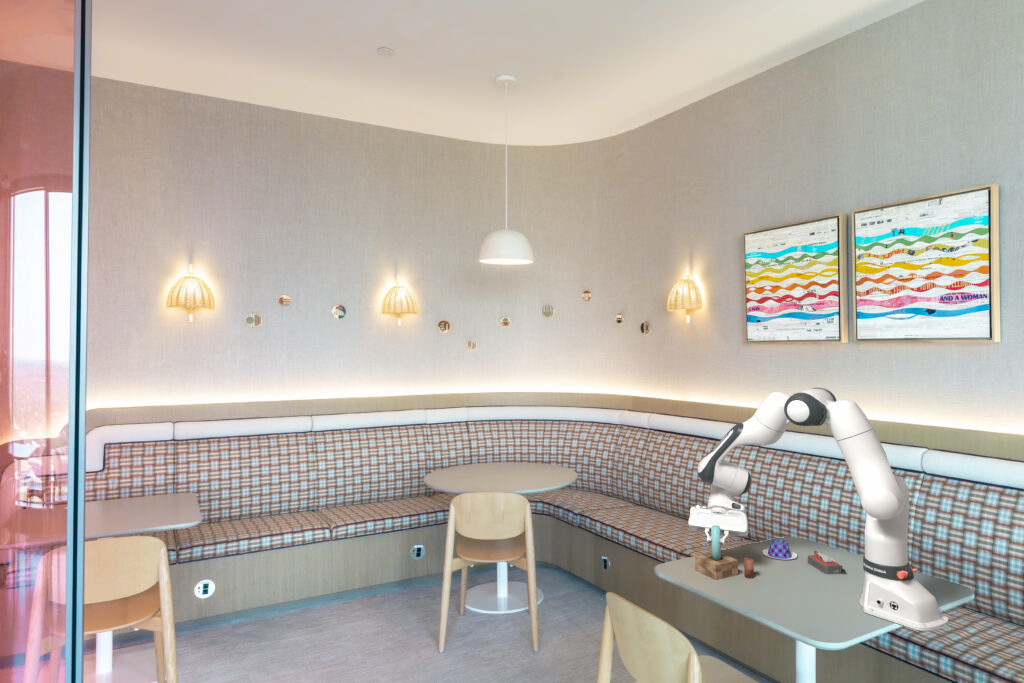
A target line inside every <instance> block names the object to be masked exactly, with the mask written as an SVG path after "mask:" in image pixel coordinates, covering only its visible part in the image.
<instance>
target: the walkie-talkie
mask: <svg viewBox="0 0 1024 683" xmlns="http://www.w3.org/2000/svg"><path fill="white" fill-rule="evenodd" d="M807 564H809V565H810V566H812V567H813V568H816V569H817V570H819V571H820V572H822V574H824V575H841V574H846V569H844V568H843V565H841V564H839V563H838V562H837V559H834V558H833V557H831V556H828V555H826V554H824V553H823V552H818V551H817V550H814V551H813V554H812V555H807Z"/></svg>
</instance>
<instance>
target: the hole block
mask: <svg viewBox="0 0 1024 683" xmlns="http://www.w3.org/2000/svg"><path fill="white" fill-rule="evenodd" d="M694 570H695V571H696V572H698V573H701V574H702V575H705V576H706V577H708V578H711V579H712V580H715V581H718V580H721V579H726V578H730V577H734V576H739V560H738V559H737V558H735V557H731V556H729V555H726V554H724V553H722V552H721V560H719V561H715V560H712V551H711V552H707V553H702V554H698V555H694Z"/></svg>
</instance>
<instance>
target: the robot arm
mask: <svg viewBox="0 0 1024 683" xmlns="http://www.w3.org/2000/svg"><path fill="white" fill-rule="evenodd" d="M790 424H793V425H796V426H800V427H815V426H816V427H819V426H822V425H825V426H826V427H827V428H829V430H830V432H831V433H832V436H833V437H834V440H835V441H836V442H835V443H836V444H837V445H838V448H839V450H840V453H841V454H842V455H843V458H844V460H845V463H846V464H847V467H848V470H849V474H850V475H851V478H852V481H853V484H854V486H855V489H856V492H857V496H858V497H859V500H860V504H861V507H862V508H863V510H864V512H865V523H864V524H865V525H864V555H863V557H862V558H863V559H862V560H863V561H862V562H863V563H862V568H863V573H864V574H863V575H864V576H863V585H862V590H861V595H860V597H859V600H858V602H859V605H860V606H861V607H862V608H863V612H864V613H865V614H867V615H871V616H874V617H877V618H880V619H882V620H883V619H884V620H886V621H889V622H891V623H895V624H898V625H901V626H904V627H907V628H910V629H913V630H915V631H916V630H917V631H922V632H923V631H925V632H927V631H929V632H930V631H933V630H934V631H937V630H938V629H942V628H944V627H946V626H947V625H949V622H950V621H949V617H948V616H946V615H944V614H943V613H941V612H940V609H939V604H938V601H937V599H936V597H935V596H934V595H933V594H932V593H931V592H930V591H929V590H928V589H927V588H925V586H924V585H922V584H921V583H920V582H919V580H918V579H917V578H916V577H915V573H918V571H917V570H918V568H912V567H911V565H910V563H909V560H908V559H909V558H908V557H909V556H908V555H909V554H908V553H909V552H908V546H909V545H908V544H909V542H908V537H909V536H908V535H909V534H908V532H909V515H910V512H909V511H910V508H909V507H910V491H909V488H908V485H907V484H906V482H905V480H903V478H901V477H899V476H898V475H896V474H894V473H893V470H892V468H891V465H890V462H889V460H888V456H887V453H886V450H885V449H884V447H883V445H882V442H881V440H880V439H879V437H878V434H877V433H876V431H875V429H874V427H873V425H872V424H871V422H870V421H869V418H868V417H867V415H866V414H865V412H864V411H863V410H862V408H861V407H860V406H859V405H858V404H857V402H855V401H854V400H850V399H839V400H837V398H836V395H835V394H834V393H833V392H832V391H831V390H829V389H826V388H825V387H824V388H823V387H813V388H805V389H803V390H800V391H798V392H795V393H793V394H791V395H790V394H788V393H786V392H784V391H783V392H782V391H773V392H771V393H769V395H768V396H766V397H765V399H764V400H763V401H762V402H761V403H760V404H759V406H758V407H757V409H756V411H755V412H754V413H753V415H752V416H751V417H750V418H749V419H747V420H746V421H744V422H740V423H739V422H738V423H736V424H734V426H732V427H731V428H730V429H729V430H728V431H727V433H726V434H725V435H724V436H723V437H722V438H721V439H720V440H719V441H718V443H717V444H716V445H714V447H713V448H712V450H711V451H709V452H708V453H707V454H705V456H704V457H702V458H701V459H700V461H699V463H698V465H697V468H696V469H697V470H696V473H697V476H698V477H699V479H700V480H701V482H702V483H705V484H708V485H710V487H709V489H710V492H709V493H710V494H709V495H708V500H707V501H708V502H707V505H697V504H695V505H693V506H691V507H690V510H689V518H688V522H687V523H688V524H687V525H688V527H689V529H690V530H693V531H698V532H704V533H705V535H706V543H708V544H711V536H710V534H711V526H720V535H721V534H724V536H722V537H720V544H721V545H722V546H725V545H726V541H727V540H728V539H729V538H730V536H736V537H737V536H738V537H739V536H740V537H747V536H748V535H749V533H750V532H749V529H750V528H749V522H748V521H749V520H748V516H747V511H746V508H745V505H743V504H741V503H739V502H736V501H735V500H734V499H735V497H740V496H742V495H744V494H746V493H748V492H749V490H750V489H751V484H752V476H751V474H750V472H749V470H748V469H746V468H744V467H742V466H739V465H737V464H735V463H731V462H729V461H727V460H725V458H726V457H727V456H728V455H729V454H730V453H731V451H732V450H733V449H734V448H736V447H738V446H748V445H749V446H763V447H766V446H770V445H774V444H775V443H777V442H778V441H779V440H780V439H782V437H783V434H785V432H786V430H787V429H788V427H789V425H790Z"/></svg>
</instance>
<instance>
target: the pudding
mask: <svg viewBox="0 0 1024 683" xmlns="http://www.w3.org/2000/svg"><path fill="white" fill-rule="evenodd" d="M761 553H762V554H763V555H765V556H766V557H769V558H772V559H776V560H779V559H781V560H783V561H784V560H785V561H787V560H793V559H794V560H795V559H796V558H798V554H797V553H795V552H794V551H792V550H790V546H789V543H788V542H787V541H785V540H784V539H773V540H771V541H770V542H769V547H768V548H766V549H765V548H764V549H763V550H762V551H761Z"/></svg>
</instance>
